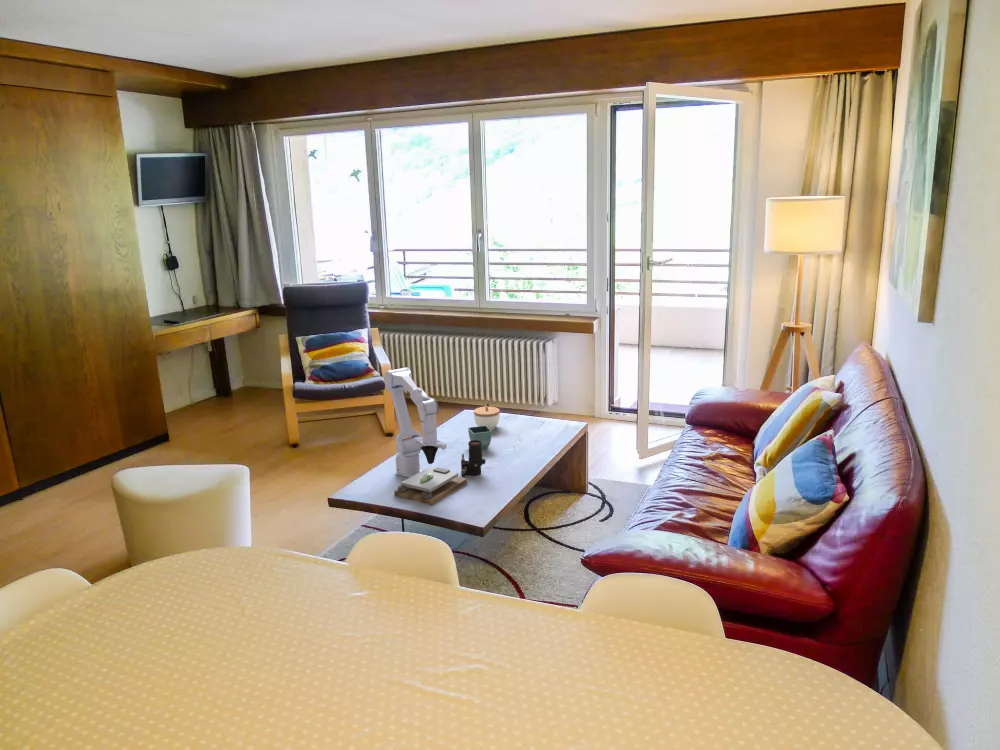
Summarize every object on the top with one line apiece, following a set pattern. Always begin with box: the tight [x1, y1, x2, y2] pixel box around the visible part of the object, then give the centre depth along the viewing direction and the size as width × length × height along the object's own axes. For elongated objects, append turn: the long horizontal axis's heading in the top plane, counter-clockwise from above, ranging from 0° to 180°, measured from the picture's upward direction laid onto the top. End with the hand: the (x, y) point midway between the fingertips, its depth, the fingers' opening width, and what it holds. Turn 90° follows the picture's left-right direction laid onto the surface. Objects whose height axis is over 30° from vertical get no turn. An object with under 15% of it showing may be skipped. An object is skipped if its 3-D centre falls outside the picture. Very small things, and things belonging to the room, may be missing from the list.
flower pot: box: [467, 425, 493, 450], centre depth 318 cm, size 9×9×9 cm
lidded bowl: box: [473, 405, 501, 431], centre depth 343 cm, size 13×13×11 cm
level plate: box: [400, 466, 459, 492], centre depth 275 cm, size 14×18×3 cm
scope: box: [460, 440, 486, 478], centre depth 289 cm, size 8×14×10 cm
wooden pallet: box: [393, 476, 468, 506], centre depth 277 cm, size 18×23×4 cm
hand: (431, 463), depth 276 cm, fingers closed
